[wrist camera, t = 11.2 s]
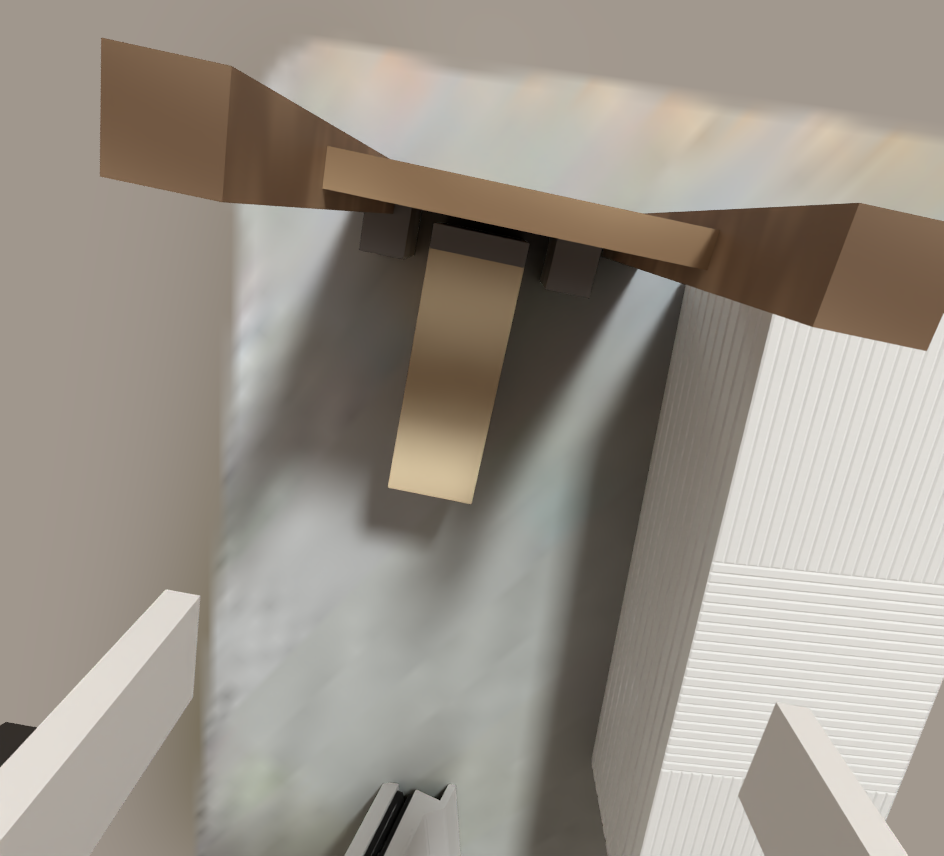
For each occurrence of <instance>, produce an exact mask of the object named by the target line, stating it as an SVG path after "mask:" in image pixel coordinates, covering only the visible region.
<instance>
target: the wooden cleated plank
mask: <svg viewBox="0 0 944 856" xmlns="http://www.w3.org/2000/svg"><path fill="white" fill-rule="evenodd" d="M100 126H101V127H100V131H101V132H100V176H101V177H106V178H111V179H115V180H120V181H124V182H129V183H134V184H139V185H143V186H148V187H153V188H158V189H163V190H167V191H172V192H176V193H181V194H186V195H191V196H195V197H201V198H205V199H210V200H214V201H219V202H227V203H241V204H256V205H270V206H285V207H299V208H314V209H328V210H343V211H357V212H364V219H363V226H362V233H361V241H360V248H359V250H361V251H366V252H371V253H376V254H380V255H385V256H390V257H395V258H399V259H405V258H408V257H410V256H413V255H414V254H415V248H416V242H417V236H418V230H419V224H420V218H421V212H422V210H427V211H431V212H436V213H441V214H445V215H450V216H455V217H459V218H464V219H469V220H473V221H478V222H483V223H487V224H492V225H497V226H502V227H506V228H511V229H516V230H520V231H525V232H530V233H534V234H539V235H544V236H548V237H550V239H549V243H548V247H547V252H546V256H545V260H544V265H543V269H542V273H541V278H540V282H541V284H542V285H543V286H544V288H545V289H546V290H551V291H556V292H561V293H565V294H570V295H575V296H580V297H584V298H589V297H590V293H591V289H592V285H593V281H594V278H595V274H596V270H597V266H598V262H599V258H600V254H601V250H602V248H604V249H603V253H602V257H604V258H607V259H610V260H613V261H616V262H619V263H622V264H625V265H628V266H631V267H634V268H637V269H640V270H643V271H646V272H649V273H652V274H655V275H658V276H661V277H664V278H667V279H670V280H673V281H676V282H679V283H682V284H685V285H688V286H691V287H694V288H697V289H700V290H703V291H706V292H709V293H712V294H715V295H718V296H721V297H724V298H727V299H730V300H733V301H736V302H739V303H742V304H745V305H748V306H751V307H754V308H757V309H760V310H763V311H766V312H769V313H772V314H775V315H778V316H781V317H784V318H787V319H790V320H793V321H796V322H799V323H802V324H805V325H808V326H811V327H815V328H819V329H824V330H829V331H834V332H838V333H843V334H848V335H852V336H857V337H862V338H867V339H871V340H876V341H881V342H886V343H890V344H895V345H900V346H904V347H909V348H914V349H919V350H923V351H927V350H928V347H929V345H930V343H931V341H932V338H933V336H934V334H935V332H936V329H937V327H938V325H939V322H940V320H941V318H942V316H943V313H944V221H940V220H935V219H931V218H926V217H922V216H917V215H912V214H908V213H903V212H899V211H894V210H889V209H885V208H880V207H876V206H871V205H866V204H862V203H849V204H829V205H809V206H789V207H768V208H748V209H728V210H708V211H688V212H668V213H648V214H642V213H637V212H633V211H628V210H623V209H619V208H614V207H609V206H605V205H600V204H595V203H591V202H586V201H582V200H577V199H572V198H568V197H563V196H558V195H554V194H549V193H544V192H540V191H535V190H530V189H526V188H521V187H517V186H512V185H507V184H503V183H498V182H493V181H489V180H484V179H479V178H475V177H470V176H465V175H461V174H456V173H451V172H447V171H442V170H438V169H433V168H428V167H424V166H419V165H414V164H410V163H405V162H400V161H396V160H391V159H389V158H387V157H386V156H384V155H382V154H380V153H379V152H377V151H375V150H374V149H372V148H370V147H368V146H367V145H365V144H363V143H362V142H360V141H358V140H357V139H355V138H353V137H351V136H350V135H348V134H346V133H345V132H343V131H341V130H340V129H338V128H336V127H334V126H333V125H331V124H329V123H328V122H326V121H324V120H323V119H321V118H319V117H317V116H316V115H314V114H312V113H311V112H309V111H307V110H306V109H304V108H302V107H300V106H299V105H297V104H295V103H294V102H292V101H290V100H288V99H287V98H285V97H283V96H282V95H280V94H278V93H277V92H275V91H273V90H271V89H270V88H268V87H266V86H265V85H263V84H261V83H260V82H258V81H256V80H254V79H253V78H251V77H249V76H248V75H246V74H244V73H242V72H241V71H239V70H237V69H236V68H234V67H232V66H228V65H224V64H220V63H215V62H211V61H206V60H201V59H197V58H192V57H188V56H183V55H179V54H174V53H169V52H165V51H160V50H155V49H151V48H146V47H141V46H137V45H133V44H128V43H124V42H119V41H114V40H110V39H105V38H101V125H100Z"/></svg>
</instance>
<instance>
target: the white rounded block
mask: <svg viewBox="0 0 944 856" xmlns="http://www.w3.org/2000/svg"><path fill="white" fill-rule="evenodd" d="M345 856H461V850H460V835H459V821H458V807H457V793H456V785H454V784H448V786H447V788H446V790H445V792H444V794H443V796H442V798H441V800H438V799H436V798H433V797H431V796H429V795H427V794H425V793H423V792H421V791H419V790H415V792H414V794H413V795H410V794H409V795H408V797H407V799H406V801H405V803H404V800H403V792H400V791H399V784H398V783H390V782H388V783H383V784H382V786H381V788H380V790H379V792H378V794H377V796H376V797H375V799H374V801H373V803H372V805H371V807H370V809H369V811H368V812H367V814H366V816H365V818H364V820H363V822H362V824H361V826H360V827H359V829H358V831H357V833H356V835H355V837H354V839H353V841H352V842H351V844H350V846H349V848H348V850H347V852H346V854H345Z"/></svg>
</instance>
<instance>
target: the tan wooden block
mask: <svg viewBox="0 0 944 856" xmlns="http://www.w3.org/2000/svg"><path fill="white" fill-rule="evenodd" d="M529 244H530V243H528V242H527V241H525V240H524V239H519V238H515V237H510V236H505V235H501V234H496V233H491V232H487V231H482V230H477V229H473V228H468V227H463V226H459V225H454V224H449V223H434V225H433V231H432V236H431V242H430V248H429V253H428V259H427V265H426V271H425V276H424V282H423V288H422V294H421V299H420V305H419V311H418V317H417V322H416V328H415V334H414V340H413V345H412V351H411V357H410V363H409V368H408V374H407V380H406V385H405V391H404V397H403V403H402V408H401V414H400V420H399V426H398V431H397V437H396V443H395V449H394V454H393V460H392V466H391V472H390V477H389V483H388V488H393V489H398V490H403V491H408V492H413V493H418V494H423V495H428V496H433V497H438V498H443V499H448V500H453V501H458V502H462V503H467V504H472V500H473V495H474V491H475V486H476V482H477V477H478V473H479V468H480V464H481V459H482V455H483V450H484V446H485V441H486V437H487V432H488V428H489V423H490V419H491V415H492V410H493V406H494V401H495V397H496V392H497V388H498V383H499V379H500V374H501V370H502V365H503V361H504V356H505V352H506V347H507V343H508V338H509V334H510V329H511V325H512V320H513V316H514V312H515V307H516V303H517V298H518V294H519V289H520V285H521V280H522V276H523V271H524V267H525V262H526V258H527V253H528V249H529Z"/></svg>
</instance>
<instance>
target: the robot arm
mask: <svg viewBox="0 0 944 856" xmlns="http://www.w3.org/2000/svg"><path fill="white" fill-rule="evenodd" d="M199 605H200V596H199V595H194V594H188V593H183V592H177V591H172V590H165V591H164V592H163V593H162V594H161V595H160V596H159V598H157V600H156V601H155V602H154V603H153V604H152V605H151V606H150V607H149V608H148V609H147V610H146V611H145V612H144V613H143V615H142V616H141V617H140V618H139V619H138V620H137V621H136V622H135V623H134V624H133V626H132V627H130V629H129V630H128V631H127V632H126V633H125V634H124V635H123V636H122V637H121V638H120V639H119V640H118V641H117V643H116V644H115V645H114V646H113V647H112V648H111V649H110V650H109V651H108V652H107V653H106V654H105V655H104V657H103V658H102V659H101V660H100V661H99V662H98V663H97V664H96V665H95V666H94V667H93V668H92V669H91V670H90V672H89V673H88V674H87V675H86V676H85V677H84V678H83V679H82V680H81V681H80V683H78V684H77V686H76V687H75V688H74V689H73V690H72V691H71V692H70V693H69V694H68V695H67V696H66V697H65V699H63V701H62V702H61V703H60V704H59V705H58V706H57V707H56V708H55V709H54V710H53V711H52V712H51V714H50V715H49V716H48V717H47V718H46V719H45V720H44V721H43V722H42V723H41V724H40V726H38V728H37V727H31V726H25V725H20V724H14V723H8V722H5V723H4V724H2V725H0V856H90V854H91V853H92V851H93V850H94V848H95V847H96V845H97V843H98V842H99V840H100V839H101V837H102V836H103V834H104V833H105V831H106V829H107V828H108V827H109V825H110V824H111V822H112V820H113V819H114V817H115V816H116V814H117V813H118V811H119V810H120V808H121V807H122V805H123V804H124V802H125V801H126V799H127V797H128V796H129V794H130V793H131V791H132V790H133V788H134V787H135V785H136V784H137V782H138V781H139V779H140V778H141V776H142V774H143V773H144V771H145V770H146V768H147V767H148V765H149V764H150V762H151V761H152V759H153V758H154V756H155V754H156V753H157V751H158V750H159V748H160V747H161V745H162V744H163V742H164V741H165V739H166V738H167V736H168V735H169V733H170V731H171V730H172V728H173V727H174V725H175V724H176V722H177V720H178V719H179V718H180V716H181V715H182V713H183V712H184V710H185V708H186V707H187V705H188V704H189V702H190V701H191V699H192V698H193V689H194V675H195V661H196V647H197V634H198V620H199ZM738 797H739V799H740V801H741V803H742V806H743V808H744V810H745V813H746V815H747V817H748V819H749V822H750V824H751V826H752V828H753V831H754V833H755V835H756V838H757V840H758V842H759V844H760V847H761V849H762V851H763V853H764V856H908V855H907V853H906V852H905V850H904V849H903V847H902V846H901V844H900V843H899V841H898V840H897V838H896V837H895V835H894V834H893V832H892V831H891V829H890V828H889V826H888V825H887V823H886V822H885V820H884V819H883V817H882V816H881V814H880V813H879V811H878V810H877V808H876V807H875V806H874V804H873V803H872V801H871V800H870V798H869V797H868V795H867V794H866V792H865V791H864V789H863V788H862V786H861V785H860V783H859V782H858V780H857V779H856V777H855V776H854V774H853V773H852V771H851V770H850V768H849V767H848V765H847V764H846V762H845V761H844V759H843V758H842V757H841V755H840V754H839V752H838V751H837V749H836V748H835V746H834V745H833V743H832V742H831V740H830V739H829V737H828V736H827V734H826V733H825V731H824V730H823V728H822V727H821V725H820V724H819V722H818V721H817V719H816V718H815V716H814V715H813V713H812V712H811V710H810V709H809V708H806V707H800V706H795V705H789V704H784V703H779V702H776V704H775V706H774V709H773V711H772V713H771V716H770V718H769V721H768V723H767V726H766V728H765V731H764V733H763V735H762V738H761V740H760V743H759V745H758V748H757V750H756V753H755V755H754V757H753V760H752V762H751V765H750V767H749V770H748V772H747V775H746V777H745V779H744V782H743V784H742V787H741V789H740V792H739V794H738Z"/></svg>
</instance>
